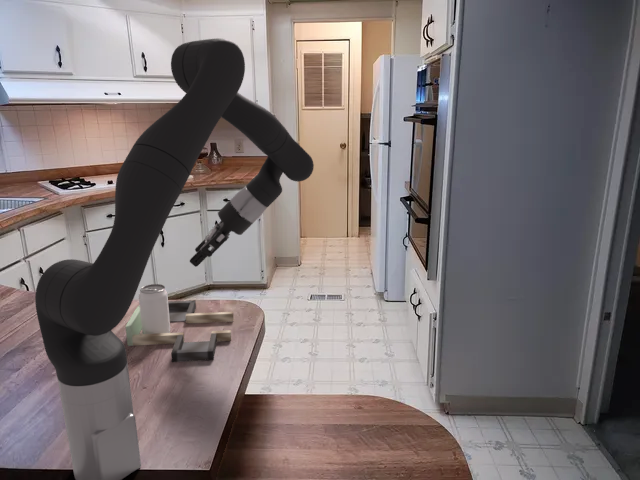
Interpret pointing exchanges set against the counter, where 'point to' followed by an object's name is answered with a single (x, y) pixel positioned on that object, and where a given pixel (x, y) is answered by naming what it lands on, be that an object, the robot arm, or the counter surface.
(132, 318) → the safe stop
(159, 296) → the can
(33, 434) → the counter surface
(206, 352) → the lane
